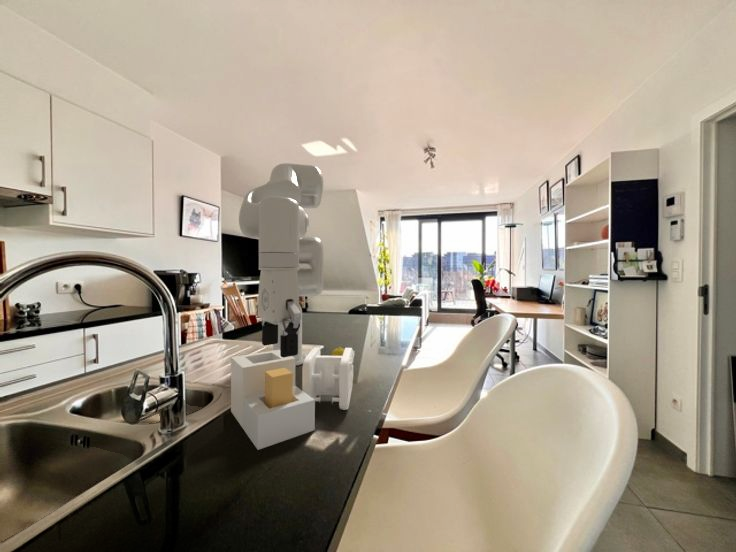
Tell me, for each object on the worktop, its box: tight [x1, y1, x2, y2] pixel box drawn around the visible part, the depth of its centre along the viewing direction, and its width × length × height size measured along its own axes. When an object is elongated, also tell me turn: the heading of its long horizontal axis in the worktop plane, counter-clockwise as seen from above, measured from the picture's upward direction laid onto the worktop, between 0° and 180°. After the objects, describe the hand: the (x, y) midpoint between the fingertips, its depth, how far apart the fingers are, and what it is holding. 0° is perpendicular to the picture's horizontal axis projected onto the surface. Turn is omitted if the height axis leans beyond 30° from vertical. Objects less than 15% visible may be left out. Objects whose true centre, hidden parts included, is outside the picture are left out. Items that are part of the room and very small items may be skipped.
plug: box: [265, 368, 293, 409], centre depth 60 cm, size 4×4×8 cm
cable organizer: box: [301, 346, 355, 411], centre depth 74 cm, size 15×11×12 cm
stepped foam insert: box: [230, 350, 316, 451], centre depth 64 cm, size 18×11×12 cm, turn 38°
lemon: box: [330, 346, 345, 356], centre depth 93 cm, size 6×6×8 cm
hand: (279, 349), depth 60 cm, fingers open, 9 cm apart
